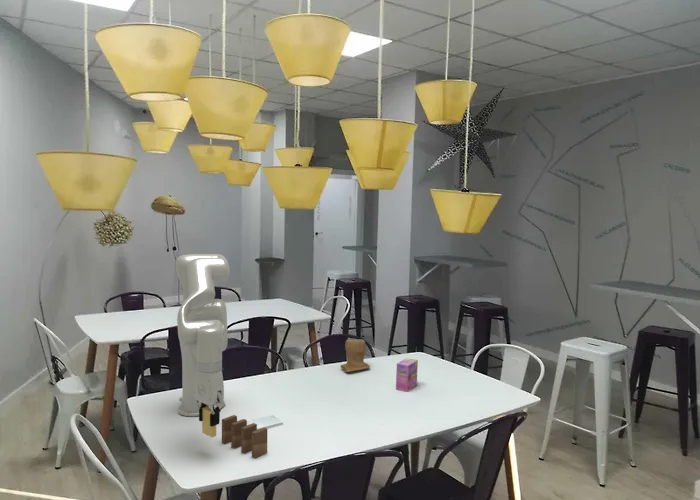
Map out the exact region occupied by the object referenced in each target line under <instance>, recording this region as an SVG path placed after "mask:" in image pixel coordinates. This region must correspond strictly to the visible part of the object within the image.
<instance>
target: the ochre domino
mask: <svg viewBox="0 0 700 500" xmlns="http://www.w3.org/2000/svg"><path fill="white" fill-rule="evenodd" d="M202 409H203V421H201V423H202V424H201V425H202V426H201V431H202V434H204V435H206V436H208V437H210V438H214V437H216V436H217V425H215V426H212V427H211V426H210V414H211V408H209V407H204V408H202Z"/></svg>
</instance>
